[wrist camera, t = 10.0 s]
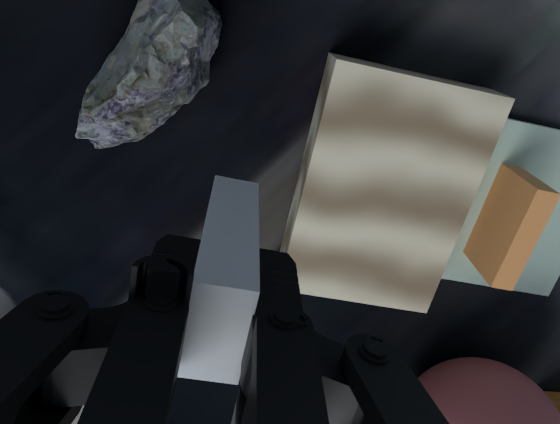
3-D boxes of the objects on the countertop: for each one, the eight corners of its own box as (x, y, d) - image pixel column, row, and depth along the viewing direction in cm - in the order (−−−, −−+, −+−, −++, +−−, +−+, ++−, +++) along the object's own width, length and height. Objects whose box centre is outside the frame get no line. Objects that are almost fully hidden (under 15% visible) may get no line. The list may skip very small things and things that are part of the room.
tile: (537, 189, 37) (561, 194, 37) (501, 163, 42) (522, 168, 42) (490, 287, 40) (512, 291, 41) (462, 251, 46) (482, 255, 46)
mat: (487, 113, 41) (491, 115, 40) (623, 143, 42) (628, 145, 42) (424, 272, 47) (427, 276, 47) (545, 292, 49) (548, 296, 48)
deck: (328, 52, 38) (336, 59, 35) (491, 88, 40) (515, 98, 36) (276, 266, 46) (277, 289, 43) (413, 288, 48) (426, 313, 44)
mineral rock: (106, 146, 41) (62, 192, 32) (40, 16, 36) (-32, 25, 27) (250, 97, 39) (249, 130, 30) (201, -44, 35) (182, -56, 26)
